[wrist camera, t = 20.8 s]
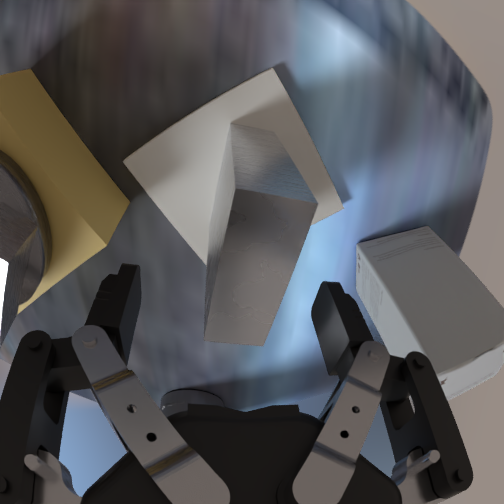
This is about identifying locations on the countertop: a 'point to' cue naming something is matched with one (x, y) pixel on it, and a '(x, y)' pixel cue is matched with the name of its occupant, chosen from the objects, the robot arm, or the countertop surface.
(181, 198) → the key mat
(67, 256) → the yellow square mount
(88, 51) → the countertop surface
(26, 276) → the collar
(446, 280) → the skincare box
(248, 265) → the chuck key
